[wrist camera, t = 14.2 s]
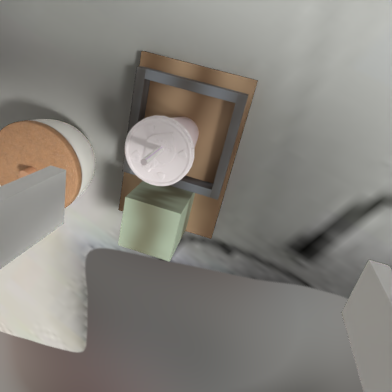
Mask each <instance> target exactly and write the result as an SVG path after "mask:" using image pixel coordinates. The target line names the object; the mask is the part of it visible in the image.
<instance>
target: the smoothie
mask: <svg viewBox="0 0 392 392" xmlns="http://www.w3.org/2000/svg"><path fill="white" fill-rule="evenodd" d="M198 135H199V131H198V127H197V125H196V124H195V122H194V121H192V120H191V119H189V118H187V117H173V118H169V117H166V116H157V115H154V116H150V117H146V118H145V119H143V120H141V121H139V122H138V123H137V124H135V125H134V126H133V127H132V129H131V130H130V131H129V133H128V135H127V138H126V141H125V156H126V160H127V162H128V165H129V166H130V168H131V170H132V171H133V172H134V174H135V175H136V176H137V177H139V178H140V179H141V180H143V181H144V182H146V183H149V184H151V185H155V186H168V185H172V184H174V183H176V182H178V181H180V180H181V179H182V178H183V177H184V176H185V175H186V174H187V173H188V172H189V170H190V169H191V167H192V164H193V161H194V148H195V145H196V142H197V139H198Z"/></svg>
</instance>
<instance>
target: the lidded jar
mask: <svg viewBox="0 0 392 392" xmlns="http://www.w3.org/2000/svg"><path fill="white" fill-rule="evenodd" d="M48 166H54V167H58V168H61V169H64V170H66V187H65V208H66V207H67V206H68V205H70V204H71V203H72V202H73V201H74V200H75V199H77V198H78V197H79V196H80V195H81V194H82V193H83V192H84V191H85V190H86V189H87V187H88V186H89V184H90V183H91V181H92V179H93V176H94V173H95V166H96V162H95V155H94V151H93V148H92V146H91V144H90V142H89V141H88V139H87V138H86V137H85V136H84V135H83V134H82V133H81V132H80V131H79V130H78V129H77V128H75V127H74V126H72V125H70V124H68V123H65V122H63V121H59V120H54V119H35V120H25V121H18V122H14V123H11V124H9V125H7V126H6V127H4V128H3V129H2V130H1V131H0V185H1V186H3V185H5V184H7V183H10V182H12V181H15V180H17V179H19V178H22V177H24V176H27V175H29V174H31V173H34V172H36V171H39V170H41V169H43V168H46V167H48Z"/></svg>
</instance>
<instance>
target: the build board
mask: <svg viewBox="0 0 392 392" xmlns="http://www.w3.org/2000/svg"><path fill="white" fill-rule="evenodd" d="M257 82H258V80H254V79H250V78H246V77H242V76H238V75H234V74H231V73H227V72H223V71H219V70H215V69H211V68H207V67H204V66H200V65H196V64H192V63H188V62H184V61H180V60H176V59H173V58H169V57H165V56H161V55H157V54H153V53H149V52H146V51H141V58H140V65H139V67H137V70H136V77H135V84H134V91H133V98H132V106H131V113H130V120H129V127H128V133H129V131H130V130H131V129H132V127H133V126H134V125H135V124H137V123H138V122H139V121H141V120H143V119H145V118H146V117H150V116H154V115H157V116H166V117H169V118H173V117H187V118H189V119H191V120H192V121H194V122H195V124H196V125H197V127H198V131H199V135H198V139H197V142H196V145H195V148H194V161H193V164H192V167H191V169H190V170H189V172H188V173H187V174H186V175H185V176H184V177H183V178H182V179H181V180H180V181H178V182H176V183H174V184H172V185H168V186H155V185H151V184H149V183H146V182H144V181H143V180H141V179H140V178H139V177H137V176H136V175H135V174H134V172H133V171H132V170H131V168H130V166H129V165H128V162H127V160H126V156H125V155H124V162H123V169H122V171H123V172H124V176H123V183H122V190H121V197H120V204H119V210H120V211H123V216H122V223H121V229H120V236H119V243H118V245H120V246H123V247H126V248H129V249H132V250H135V251H138V252H141V253H144V254H147V255H151V256H154V257H157V258H160V259H163V260H166V261H169V262H170V260H171V258H172V256H173V254H174V252H175V250H176V248H177V246H178V244H179V242H180V240H181V238H182V236H183V234H184V232H185V231H187V232H191V233H194V234H197V235H200V236H204V237H207V238H210V239H211V237H212V234H213V231H214V228H215V224H216V221H217V217H218V214H219V211H220V207H221V204H222V200H223V197H224V194H225V190H226V187H227V183H228V180H229V177H230V173H231V170H232V166H233V163H234V160H235V156H236V153H237V149H238V146H239V143H240V139H241V136H242V133H243V129H244V126H245V122H246V119H247V116H248V112H249V109H250V105H251V102H252V99H253V95H254V92H255V88H256V85H257ZM127 135H128V134H127Z"/></svg>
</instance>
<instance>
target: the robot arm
mask: <svg viewBox="0 0 392 392" xmlns="http://www.w3.org/2000/svg"><path fill="white" fill-rule="evenodd" d="M65 187H66V170H64V169H61V168H58V167H54V166H48V167H46V168H43V169H41V170H39V171H36V172H34V173H31V174H29V175H27V176H24V177H22V178H19V179H17V180H15V181H12V182H10V183H7V184H5V185H3V186H0V269H1V268H2V267H4V266H5V265H7V264H8V263H9V262H11V261H12V260H14V259H15V258H16V257H18V256H19V255H21V254H22V253H23V252H25V251H26V250H27V249H29V248H30V247H32V246H33V245H34V244H36V243H37V242H39V241H40V240H41V239H43V238H44V237H46V236H47V235H48V234H50V233H51V232H53V231H54V230H55V229H57V228H58V227H60V226H61V225H62V224H64V208H65ZM341 313H342V316H343V320H344V323H345V327H346V331H347V334H348V338H349V341H350V345H351V348H352V352H353V356H354V359H355V362H356V366H357V370H358V373H359V377H360V381H361V384H362V388H363V391H364V392H392V270H391V268H390V266H389V265H386V264H382V263H379V262H376V261H372V260H368V262H367V264H366V266H365V268H364V270H363V272H362V274H361V276H360V277H359V279H358V281H357V283H356V285H355V287H354V289H353V291H352V293H351V295H350V297H349V299H348V300H347V302H346V304H345V306H344V308H343V310H342V312H341Z"/></svg>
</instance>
